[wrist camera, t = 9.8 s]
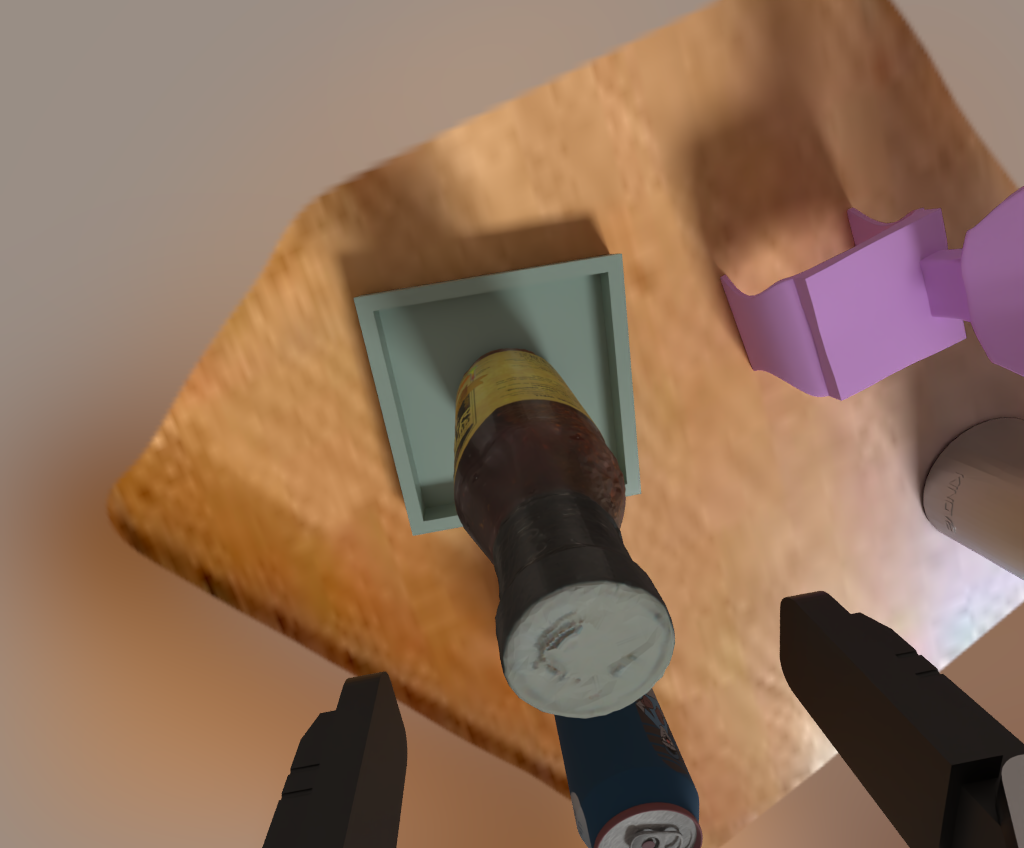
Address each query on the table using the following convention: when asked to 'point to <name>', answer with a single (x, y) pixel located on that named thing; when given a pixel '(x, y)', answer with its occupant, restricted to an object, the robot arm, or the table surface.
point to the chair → (890, 302)
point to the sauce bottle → (554, 541)
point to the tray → (486, 327)
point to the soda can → (629, 779)
